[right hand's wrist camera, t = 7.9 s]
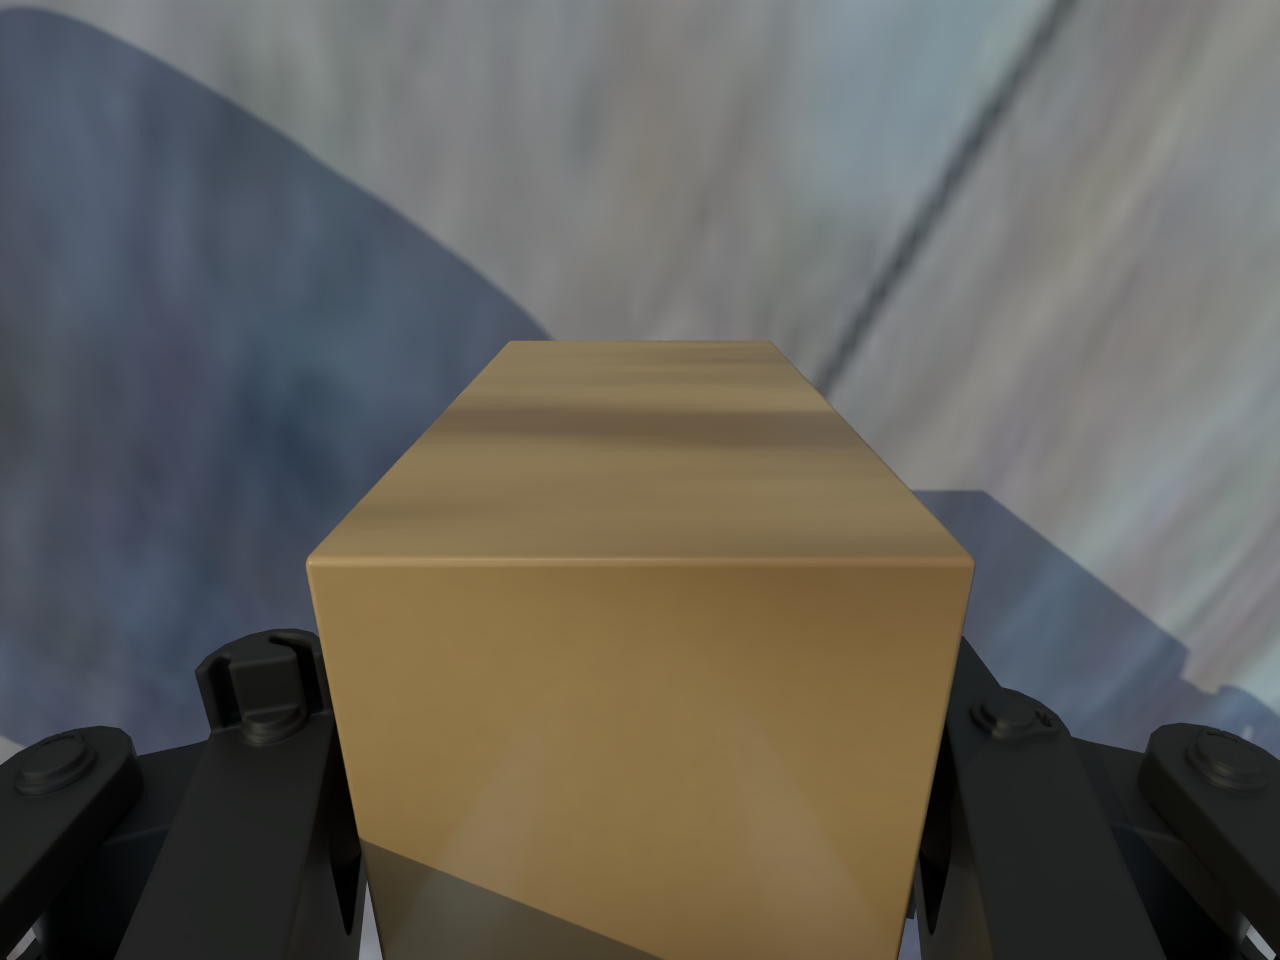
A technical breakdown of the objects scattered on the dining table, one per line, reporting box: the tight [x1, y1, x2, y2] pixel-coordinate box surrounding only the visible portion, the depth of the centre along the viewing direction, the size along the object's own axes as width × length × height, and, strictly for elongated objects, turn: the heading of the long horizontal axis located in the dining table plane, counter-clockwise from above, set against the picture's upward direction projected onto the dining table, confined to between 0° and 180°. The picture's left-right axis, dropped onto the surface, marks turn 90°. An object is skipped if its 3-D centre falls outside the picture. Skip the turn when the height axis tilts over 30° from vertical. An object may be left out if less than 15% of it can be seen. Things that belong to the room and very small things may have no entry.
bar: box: [306, 341, 975, 960], centre depth 13 cm, size 22×5×9 cm, turn 0°
